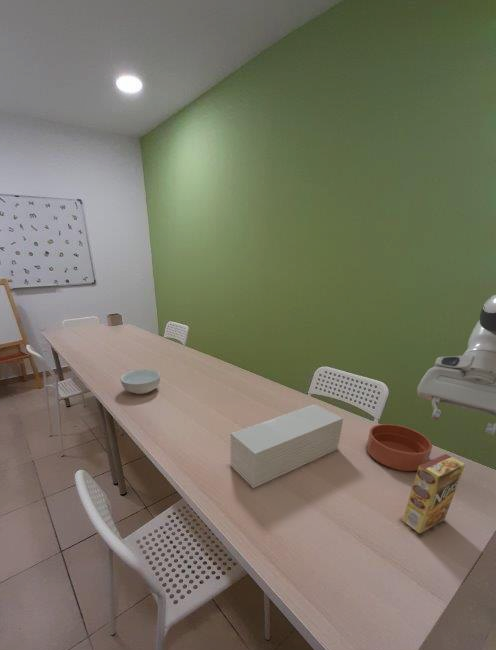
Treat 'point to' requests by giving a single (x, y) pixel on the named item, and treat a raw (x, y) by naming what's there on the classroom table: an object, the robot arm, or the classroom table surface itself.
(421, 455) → the pot
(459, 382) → the robot arm
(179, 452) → the classroom table surface
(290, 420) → the pale grey rectangular box
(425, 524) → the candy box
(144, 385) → the cereal bowl
